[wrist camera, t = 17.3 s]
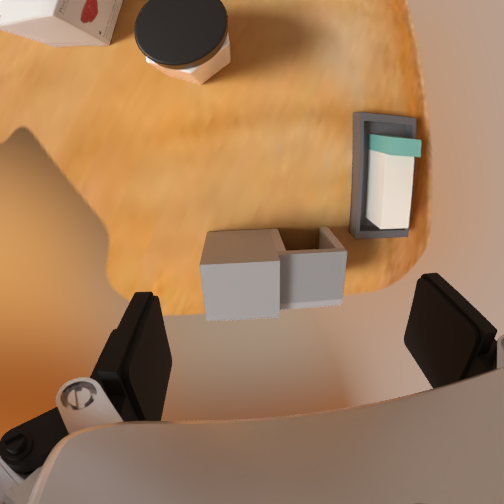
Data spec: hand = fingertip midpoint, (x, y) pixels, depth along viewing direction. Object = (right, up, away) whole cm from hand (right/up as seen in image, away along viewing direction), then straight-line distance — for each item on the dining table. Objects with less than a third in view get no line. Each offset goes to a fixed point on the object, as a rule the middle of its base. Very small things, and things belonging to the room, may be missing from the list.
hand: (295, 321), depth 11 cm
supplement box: (-22, +33, +18) cm, 44 cm away
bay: (+1, +2, +32) cm, 32 cm away
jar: (-8, +26, +22) cm, 35 cm away
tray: (+15, +13, +29) cm, 35 cm away
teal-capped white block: (+15, +12, +28) cm, 34 cm away
